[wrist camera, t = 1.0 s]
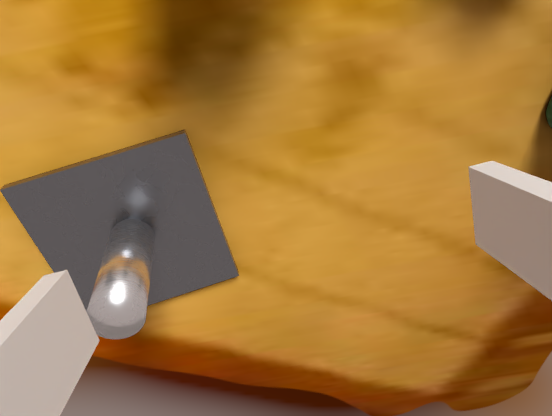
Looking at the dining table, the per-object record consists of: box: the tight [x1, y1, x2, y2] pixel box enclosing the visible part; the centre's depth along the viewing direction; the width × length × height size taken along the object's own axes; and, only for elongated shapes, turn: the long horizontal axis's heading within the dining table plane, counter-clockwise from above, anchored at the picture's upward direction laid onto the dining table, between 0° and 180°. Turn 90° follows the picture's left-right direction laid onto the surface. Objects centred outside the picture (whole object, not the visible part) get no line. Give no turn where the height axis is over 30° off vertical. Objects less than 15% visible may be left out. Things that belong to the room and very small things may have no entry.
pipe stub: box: [0, 130, 239, 339], centre depth 35 cm, size 16×16×12 cm
